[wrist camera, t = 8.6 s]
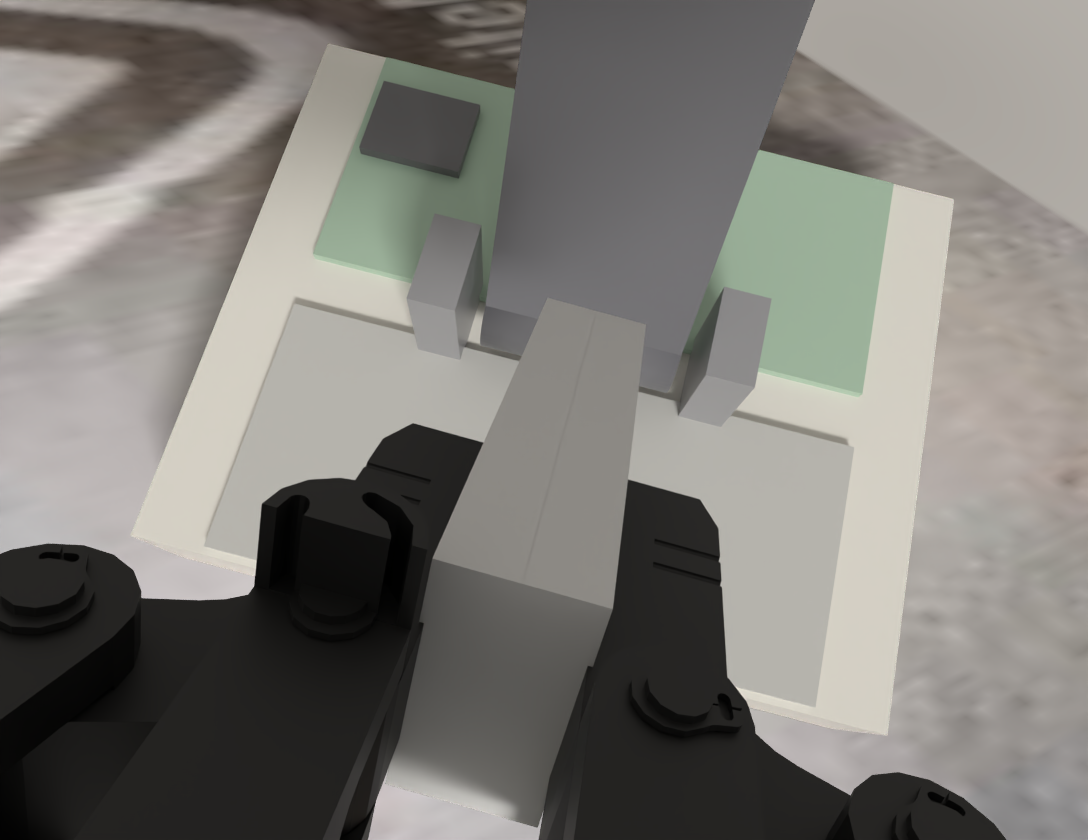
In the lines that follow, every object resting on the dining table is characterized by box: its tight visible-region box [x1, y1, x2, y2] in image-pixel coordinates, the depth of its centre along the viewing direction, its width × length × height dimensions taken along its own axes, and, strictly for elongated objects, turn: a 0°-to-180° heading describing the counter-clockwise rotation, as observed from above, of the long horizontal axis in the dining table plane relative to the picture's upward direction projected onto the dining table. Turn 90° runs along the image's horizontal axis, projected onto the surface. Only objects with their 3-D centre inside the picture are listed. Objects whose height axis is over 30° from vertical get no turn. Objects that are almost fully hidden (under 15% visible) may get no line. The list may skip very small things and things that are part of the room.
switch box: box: [130, 43, 954, 735], centre depth 25 cm, size 16×20×8 cm
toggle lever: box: [480, 0, 815, 393], centre depth 18 cm, size 4×5×16 cm
